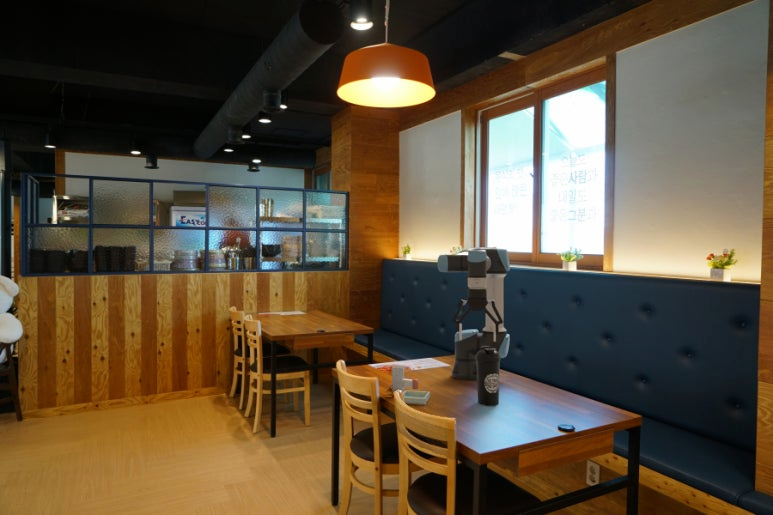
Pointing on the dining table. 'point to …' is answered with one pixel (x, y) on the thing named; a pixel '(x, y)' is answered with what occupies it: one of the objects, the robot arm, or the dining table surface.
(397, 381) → the white upright block
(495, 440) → the dining table surface
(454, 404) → the dining table surface
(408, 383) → the crank
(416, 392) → the tray
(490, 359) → the water bottle
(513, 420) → the dining table surface
